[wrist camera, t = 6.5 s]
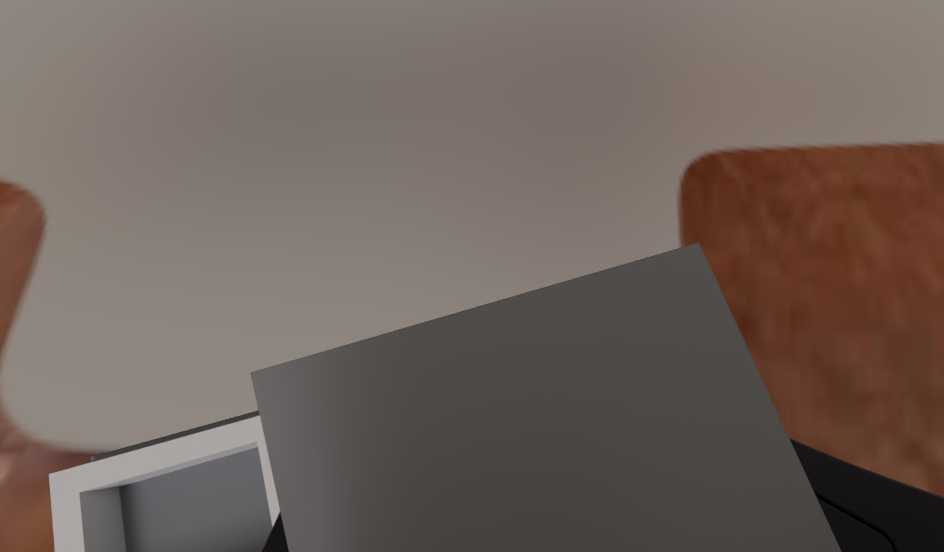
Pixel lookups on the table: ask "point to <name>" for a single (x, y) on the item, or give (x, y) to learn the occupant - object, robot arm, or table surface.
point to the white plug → (544, 428)
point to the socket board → (171, 494)
